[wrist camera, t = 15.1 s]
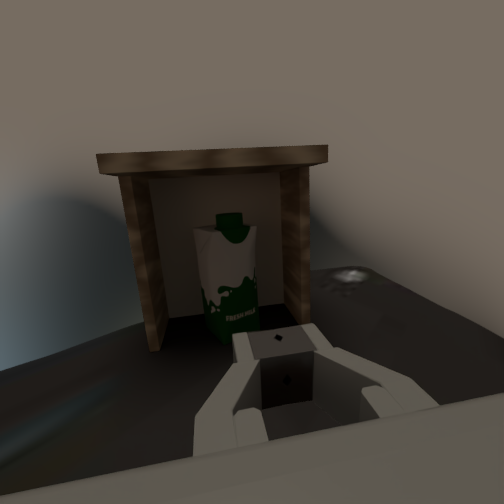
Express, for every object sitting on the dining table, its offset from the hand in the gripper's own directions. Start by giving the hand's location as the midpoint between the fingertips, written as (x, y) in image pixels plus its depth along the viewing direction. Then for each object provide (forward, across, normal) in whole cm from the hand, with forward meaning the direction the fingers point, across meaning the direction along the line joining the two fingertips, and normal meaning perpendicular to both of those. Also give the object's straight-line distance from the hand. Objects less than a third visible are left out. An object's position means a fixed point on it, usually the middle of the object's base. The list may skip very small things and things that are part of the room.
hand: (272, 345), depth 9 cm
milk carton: (+32, -1, +19) cm, 37 cm away
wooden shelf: (+32, -1, +18) cm, 37 cm away
